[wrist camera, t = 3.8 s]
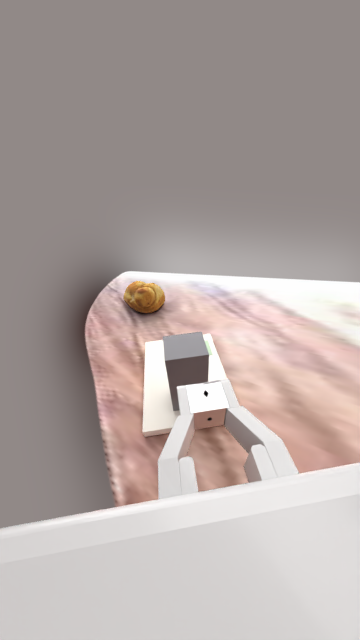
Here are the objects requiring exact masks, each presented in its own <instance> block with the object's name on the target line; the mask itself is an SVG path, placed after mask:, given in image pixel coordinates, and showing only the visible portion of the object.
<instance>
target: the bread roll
mask: <svg viewBox="0 0 360 640" xmlns="http://www.w3.org/2000/svg"><path fill="white" fill-rule="evenodd" d="M124 300H125V302H126V303H127V304H128V305H129V306H130V307H131V308H132V309H134V310H136V311H138V312H141V313H152V312H154V311H156V310H158V309H159V308H160V307H161V306H162V305H163V304H164V301H165V295H164V292H163V290H162V289H161V288H160V287H159V286H158V285H156V284H154V283H149V284H146V283H144V282H141V281H135V282H133V283H132V284H130V285H129V286H128V287H127V288H126V291H125V294H124Z"/></svg>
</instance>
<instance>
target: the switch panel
mask: <svg viewBox="0 0 360 640" xmlns="http://www.w3.org/2000/svg"><path fill="white" fill-rule="evenodd" d="M203 338H204V341H205V344H206V347H207V350H208V353H209V371H208V382H210V381H216V380H223V379H227V377H226V374H225V372H224V369H223V366H222V364H221V361H220V359H219V356H218V353H217V351H216V348H215V345H214V343H213V340H212V338H211V335H210V334H204V335H203ZM177 416H180V410H177V411H173V406H172V400H171V394H170V389H169V383H168V377H167V371H166V365H165V358H164V345H163V340H159V341H152V342H146V345H145V375H144V404H143V434H144V437H147V436H153V435H159V434H165V433H170V432H171V430H172V428H173V425H174V423H175V421H176V419H177Z"/></svg>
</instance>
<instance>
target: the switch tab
mask: <svg viewBox="0 0 360 640" xmlns="http://www.w3.org/2000/svg"><path fill="white" fill-rule="evenodd" d="M163 345H164V358H165V365H166V371H167V377H168V383H169V389H170V394H171V400H172V406H173V411H177V410H180V409H179V401H178V393H177V386H183V385H191V384H198V383H204V382H208V371H209V353H208V350H207V347H206V344H205V341H204V338H203V335H202V332H195V333H188V334H180V335H172V336H165V337H163Z"/></svg>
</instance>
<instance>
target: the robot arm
mask: <svg viewBox="0 0 360 640" xmlns="http://www.w3.org/2000/svg"><path fill="white" fill-rule="evenodd" d="M177 393H178V401H179V409H180V416H177V419H176V421H175V423H174V425H173V428H172V430H171V432H170V435H169V437H168V439H167V441H166V444H165V446H164V448H163V450H162V453H161V455H160V457H159V459H158V489H159V499H158V500H153V501H147V502H142V503H136V504H131V505H125V506H120V507H114V508H109V509H104V510H98V511H93V512H87V513H82V514H76V515H71V516H65V517H60V518H54V519H50V520H43V521H38V522H33V523H27V524H22V525H16V526H11V527H5V528H0V640H360V463H354V464H349V465H343V466H338V467H332V468H327V469H322V470H316V471H311V472H305V473H300V474H299V472H298V470H297V468H296V466H295V464H294V462H293V460H292V458H291V456H290V454H289V452H288V450H287V448H286V446H285V445H284V443H283V441H282V439H281V438H279V437H278V436H277V435H276V434H275V433H274V432H272V431H271V430H270V429H269V428H268V427H267V426H265V425H264V424H263V423H262V422H261V421H260V420H258V419H257V418H256V417H255V416H254V415H253V414H251V413H250V412H249V411H248V410H247V409H246V408H244V407H243V406H240V405H239V403H238V400H237V398H236V395H235V393H234V390H233V388H232V385H231V383H230V381H229V379H223V380H216V381H210V382H204V383H198V384H191V385H183V386H177ZM221 425H224V426H225V427H226V429H227V430H228V431H229V432H230V433H231V434H232V435H233V437H234V438H235V439H236V440H237V441H238V442H239V443H240V445H241V446H242V447H243V448H244V449H245V450H246V451H247V453H248V454H249V455H248V457H247V459H246V462H245V464H244V470H245V473H246V476H247V479H248V482H249V483H245V484H240V485H234V486H229V487H223V488H218V489H213V490H207V491H202V492H198V486H197V480H196V474H195V468H194V461H193V459H192V458H191V457H190V456H189V457H186V456H187V453H188V450H189V447H190V444H191V441H192V437H193V434H194V430H197V429H202V428H207V427H214V426H221Z"/></svg>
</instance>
